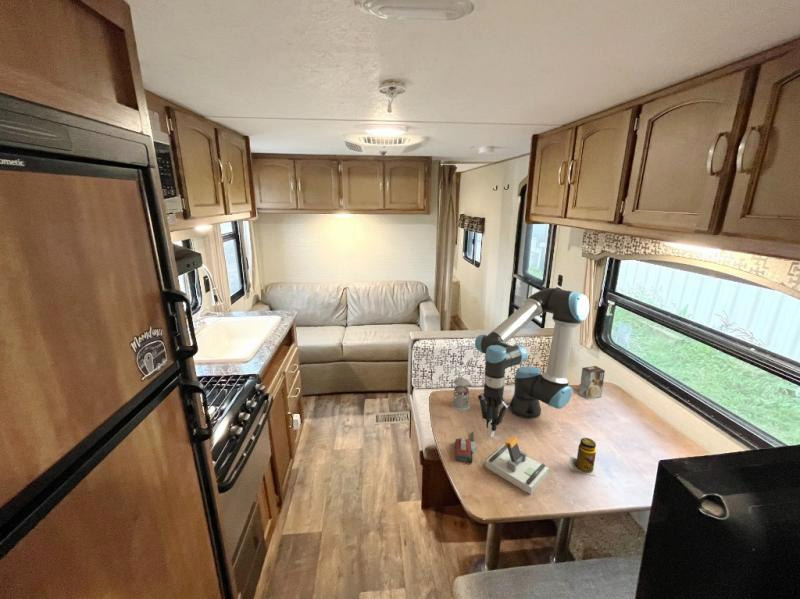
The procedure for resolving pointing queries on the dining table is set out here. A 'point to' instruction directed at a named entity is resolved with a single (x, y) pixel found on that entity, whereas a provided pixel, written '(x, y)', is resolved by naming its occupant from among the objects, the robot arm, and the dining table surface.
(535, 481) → the panel
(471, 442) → the walkie-talkie
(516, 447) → the lever
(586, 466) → the condiment
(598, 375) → the coffee box
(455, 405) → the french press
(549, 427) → the dining table surface
